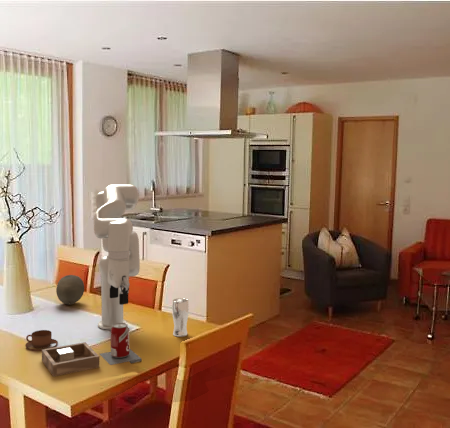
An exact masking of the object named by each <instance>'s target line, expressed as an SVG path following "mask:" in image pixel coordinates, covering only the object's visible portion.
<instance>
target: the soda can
mask: <svg viewBox="0 0 450 428" xmlns="http://www.w3.org/2000/svg"><path fill="white" fill-rule="evenodd" d="M129 348H130V328H129V325H128V323H115V324H113V327H112V329H111V330H110V352H111V356H112V357H114V358H118V359H120V358H125V357H126V356H128V355H129Z"/></svg>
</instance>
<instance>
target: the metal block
mask: <svg viewBox="0 0 450 428" xmlns="http://www.w3.org/2000/svg"><path fill="white" fill-rule="evenodd" d="M70 360H74V351H73V350H72V349H71V348H70V347H69V348H63V349H57V350H56V361H57V362H58V363H59V362H65V361H70Z"/></svg>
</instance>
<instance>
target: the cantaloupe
mask: <svg viewBox="0 0 450 428" xmlns="http://www.w3.org/2000/svg"><path fill="white" fill-rule="evenodd" d="M55 292H56V295H57V299H58V300H59V301H60V302H61V303H62V304H64V305H67V306H68V305H69V306H70V305H71V306H72V305H73V304H75V303H77V302H79V301H80V300H81V298H82V297H83V296H84V293H85V284H84V281H83V279H82V278H81V277H80V276H78V275H75V274H69V275H64V276H62V277H61V278H60V279H59V280H58V282H57V285H56V291H55Z"/></svg>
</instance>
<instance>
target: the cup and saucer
mask: <svg viewBox="0 0 450 428" xmlns="http://www.w3.org/2000/svg"><path fill="white" fill-rule="evenodd" d="M29 337H31V340H30V339H29ZM26 341H27V342H26V343H25V348H26V349H27V350H29V351H33V352H36V351H37V352H42V350H43V349H49V348H55V347H58V344H59V342H58V340H57V339H55V338H52V331H51V330H47V329H40V330H35V331H33V332H31V334H27V336H26ZM54 344H55V345H54ZM51 345H53V346H51ZM50 346H51V347H50Z"/></svg>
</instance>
